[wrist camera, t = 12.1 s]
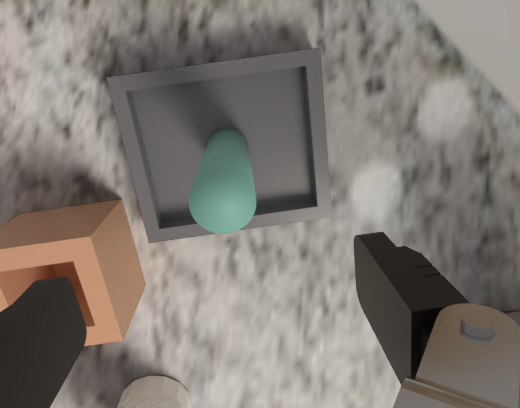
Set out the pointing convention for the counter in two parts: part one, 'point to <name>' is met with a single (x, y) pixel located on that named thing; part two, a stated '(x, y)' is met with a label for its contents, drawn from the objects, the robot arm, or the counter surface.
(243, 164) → the dowel
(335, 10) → the counter surface
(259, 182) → the tray
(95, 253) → the pot
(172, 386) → the white cup
